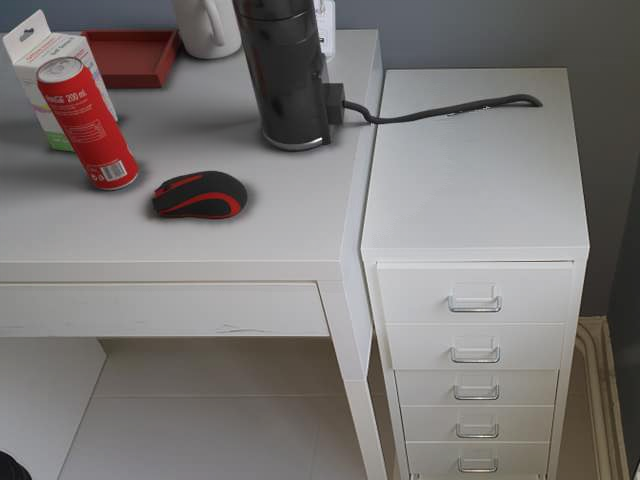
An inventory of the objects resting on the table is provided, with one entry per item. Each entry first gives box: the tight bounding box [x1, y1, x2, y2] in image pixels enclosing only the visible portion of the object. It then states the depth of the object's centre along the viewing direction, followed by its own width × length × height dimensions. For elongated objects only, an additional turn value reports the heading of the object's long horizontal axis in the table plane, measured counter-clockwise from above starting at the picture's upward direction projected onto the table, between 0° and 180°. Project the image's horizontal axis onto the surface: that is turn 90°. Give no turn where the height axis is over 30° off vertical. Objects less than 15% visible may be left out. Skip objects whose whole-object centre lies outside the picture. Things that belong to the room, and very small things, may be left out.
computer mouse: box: [151, 170, 248, 219], centre depth 87 cm, size 6×11×4 cm, turn 94°
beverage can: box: [35, 56, 139, 191], centre depth 86 cm, size 6×6×15 cm
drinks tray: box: [79, 29, 183, 89], centre depth 108 cm, size 14×13×2 cm
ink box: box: [2, 9, 119, 153], centre depth 92 cm, size 9×5×15 cm, turn 168°
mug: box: [170, 0, 242, 60], centre depth 108 cm, size 12×8×11 cm
